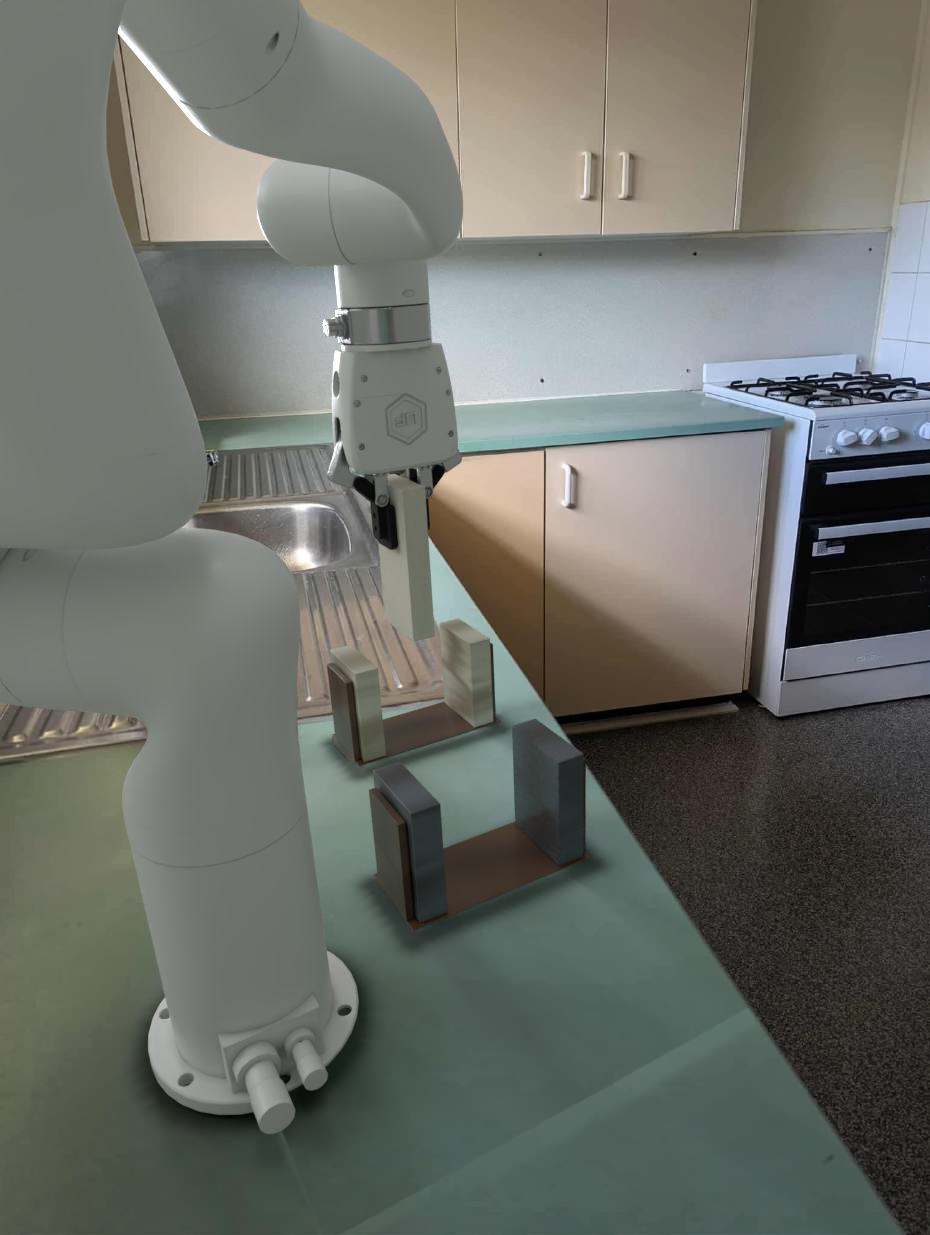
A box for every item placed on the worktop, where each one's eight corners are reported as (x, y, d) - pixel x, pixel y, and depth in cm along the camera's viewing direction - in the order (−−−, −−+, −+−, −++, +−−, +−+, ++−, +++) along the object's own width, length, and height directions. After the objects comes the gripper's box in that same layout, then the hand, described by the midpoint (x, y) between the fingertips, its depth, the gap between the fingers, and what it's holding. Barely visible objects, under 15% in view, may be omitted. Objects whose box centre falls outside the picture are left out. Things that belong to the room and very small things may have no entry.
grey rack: (593, 866, 67) (594, 752, 63) (413, 942, 60) (403, 819, 56) (542, 821, 72) (540, 714, 69) (373, 885, 66) (361, 770, 62)
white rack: (501, 730, 87) (498, 637, 83) (359, 775, 80) (349, 677, 77) (467, 703, 93) (463, 615, 89) (332, 743, 86) (321, 650, 82)
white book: (435, 636, 80) (425, 486, 75) (413, 642, 79) (401, 490, 74) (405, 615, 85) (394, 473, 80) (384, 620, 84) (372, 477, 79)
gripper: (308, 339, 66) (334, 571, 73) (492, 323, 73) (499, 536, 79) (278, 335, 72) (304, 549, 79) (450, 321, 79) (460, 518, 86)
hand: (402, 541), depth 79 cm, fingers closed on white book, 2 cm apart
